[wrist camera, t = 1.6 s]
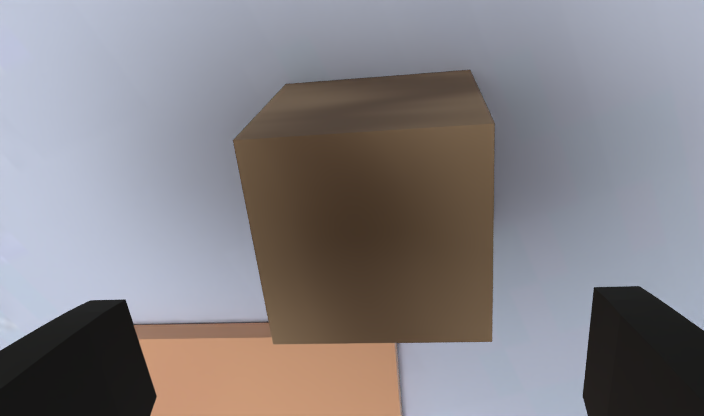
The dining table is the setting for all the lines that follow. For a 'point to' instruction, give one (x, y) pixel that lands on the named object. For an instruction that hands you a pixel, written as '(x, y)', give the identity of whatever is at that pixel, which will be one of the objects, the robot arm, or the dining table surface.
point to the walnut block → (373, 209)
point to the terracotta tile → (265, 373)
